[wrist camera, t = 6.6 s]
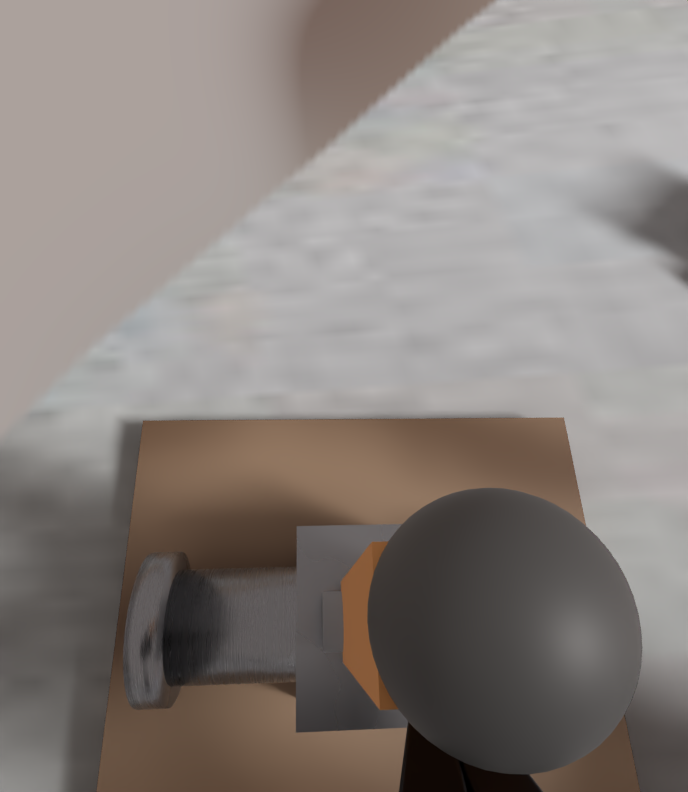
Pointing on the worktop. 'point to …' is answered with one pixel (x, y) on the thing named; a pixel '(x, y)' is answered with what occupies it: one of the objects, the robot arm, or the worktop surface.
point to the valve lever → (492, 630)
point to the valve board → (277, 547)
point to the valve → (250, 630)
